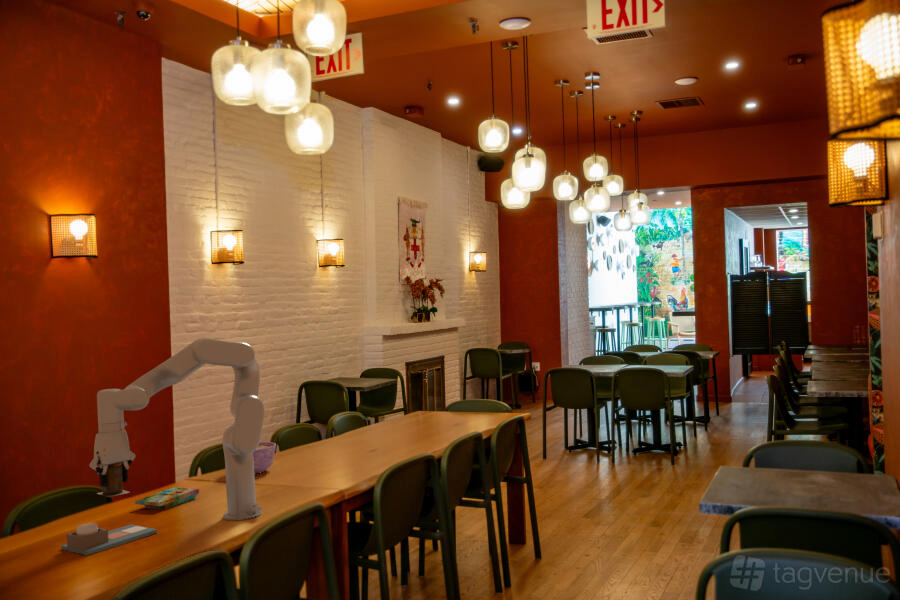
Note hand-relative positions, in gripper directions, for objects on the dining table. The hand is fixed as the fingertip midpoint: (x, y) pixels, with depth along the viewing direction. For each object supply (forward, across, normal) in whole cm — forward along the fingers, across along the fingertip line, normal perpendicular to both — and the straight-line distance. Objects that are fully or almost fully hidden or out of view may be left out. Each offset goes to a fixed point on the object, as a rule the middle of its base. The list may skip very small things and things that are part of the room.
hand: (114, 483), depth 244 cm
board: (+18, +2, 0) cm, 18 cm away
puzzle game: (+18, -36, -22) cm, 46 cm away
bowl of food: (+18, -87, -32) cm, 94 cm away
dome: (+14, +10, 0) cm, 17 cm away
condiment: (+3, 0, 0) cm, 3 cm away
